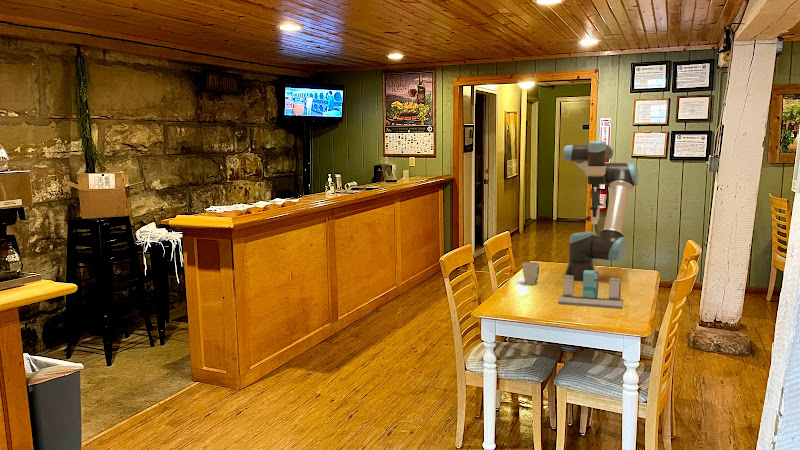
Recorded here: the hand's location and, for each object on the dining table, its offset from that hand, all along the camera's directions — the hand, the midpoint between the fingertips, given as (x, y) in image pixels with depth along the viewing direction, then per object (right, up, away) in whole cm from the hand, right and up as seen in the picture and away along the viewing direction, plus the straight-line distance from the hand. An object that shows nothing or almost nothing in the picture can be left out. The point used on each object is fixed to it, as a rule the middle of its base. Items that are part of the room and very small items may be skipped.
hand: (595, 221), depth 276 cm
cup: (-25, -31, +21) cm, 45 cm away
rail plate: (-7, -35, -14) cm, 39 cm away
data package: (-6, -34, -13) cm, 36 cm away
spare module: (+6, -34, -10) cm, 36 cm away
